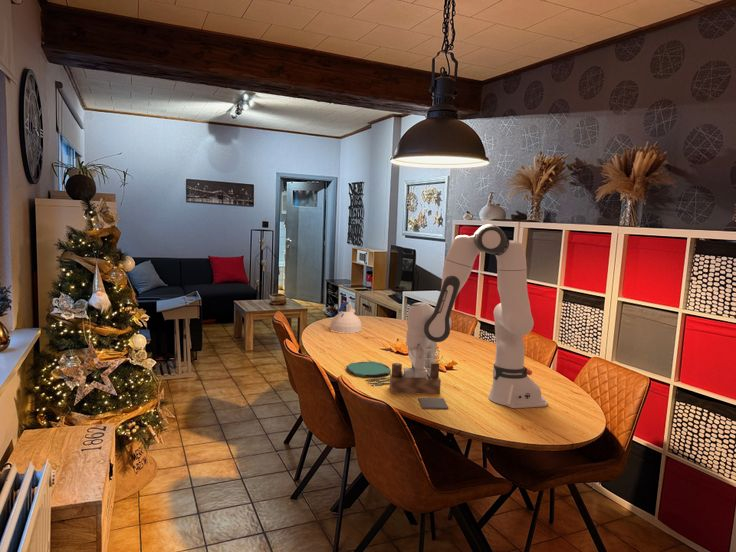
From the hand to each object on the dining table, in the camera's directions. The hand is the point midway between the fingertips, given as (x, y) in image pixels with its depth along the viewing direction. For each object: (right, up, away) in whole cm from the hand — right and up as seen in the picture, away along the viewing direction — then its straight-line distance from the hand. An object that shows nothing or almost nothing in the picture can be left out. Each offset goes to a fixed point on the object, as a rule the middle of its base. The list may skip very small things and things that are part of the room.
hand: (415, 373), depth 208 cm
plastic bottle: (+8, -5, +20) cm, 22 cm away
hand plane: (0, -7, +1) cm, 7 cm away
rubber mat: (+6, -9, -14) cm, 17 cm away
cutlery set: (-18, -5, +20) cm, 27 cm away
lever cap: (0, -1, 0) cm, 1 cm away
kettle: (-33, +6, +107) cm, 113 cm away
